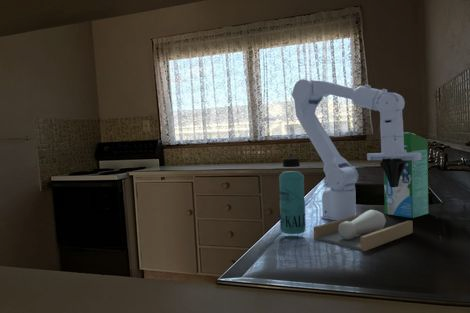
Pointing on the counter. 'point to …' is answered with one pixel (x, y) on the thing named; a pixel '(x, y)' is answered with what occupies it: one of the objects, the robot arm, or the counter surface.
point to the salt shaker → (362, 224)
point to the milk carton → (410, 182)
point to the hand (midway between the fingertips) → (394, 186)
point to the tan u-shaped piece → (361, 241)
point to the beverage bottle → (292, 199)
